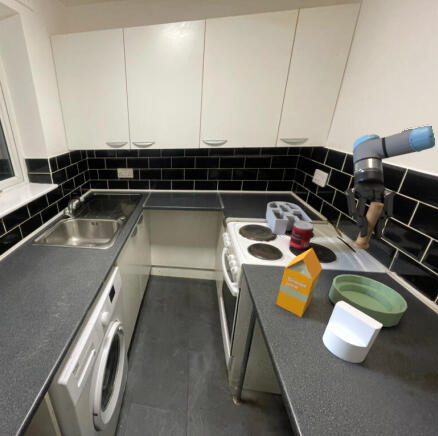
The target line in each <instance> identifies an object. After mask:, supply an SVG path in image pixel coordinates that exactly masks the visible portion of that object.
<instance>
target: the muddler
mask: <svg viewBox="0 0 438 436" xmlns="http://www.w3.org/2000/svg"><path fill="white" fill-rule="evenodd" d="M382 208H383V209H384V203H382V202H381V203H378V202H372V203H371V202H370V204H369V207H368V210H367V212H366V214H365V217H367V232H368V235H367V236H365V237H364V238H362V237H360V232H359V234H358V235H357V238H356V240H354V241H353V243H352V245H353V247H355V248H357V249H360V250H368V249H369V247H370V244H369V242H370V241H371V237H372V235H373V233H374V227H375V225H376V223H377V220H378V218H379V215H380V213H381V211H382Z"/></svg>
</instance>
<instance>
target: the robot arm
mask: <svg viewBox="0 0 438 436" xmlns="http://www.w3.org/2000/svg"><path fill="white" fill-rule="evenodd" d="M423 126H424V125H423ZM417 127H418V128H415V129H408V128H407V129H408V130H405V129H403V130H404V131H403V130H401V131H402V132H401V131H400V132H401V133H400V132H398V133H395V134H390V135H388V136H383V137H381V136H379V135H378V134H375V133H374V134H373V133H372V134H364V135H362V136H360V137H358V138H357V139H355V141H354V142H353V146H352V147H353V149H352V157H353V159H352V161H353V187H352V188H350V187H348V188H347V189H346V190H344V192H343V193H344V195H345V197H346V201H347V209H348V215H349V217H353V218H354V219H355V220H356V226H357V228H359V233H360V237H362V238H364V237H365V236H367V235H368V232H367V217H366V216H365V210H366V205H367V200H370V204H371V203H372V202H378V203H382V200H381V199H382V197H381V195H383V198H384V199H383V204H384V206H383V208H382V211H381V213H380V215H379V218H378V220H377V223H376V225H375V227H374V230H373V236H374V237H373V239H374V240H379V239H382V238H383V229H385V228H386V221H387V220H389V219H391V218H392V217H393V213H394V212H393V210H394V197H395V195H396V194H397V193H396V191H395V190H392V191H390V190H387V189H386V187H385V186H384V170H383V169H384V168H383V160H385V159H389V158H394V157H398V156H403V155H408V154H413V153H420V152H422V151H426V150H429V149H433V148H434V147H435V146H436V145H435V138H434V133H433V129H432V126H424V127H419V126H417ZM355 195H357V197H358V198H357V199H358V200H357V202H358V203H356V196H355Z"/></svg>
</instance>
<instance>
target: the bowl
mask: <svg viewBox="0 0 438 436" xmlns="http://www.w3.org/2000/svg"><path fill="white" fill-rule="evenodd" d="M328 297H329V299H330V301H331V302H332V304H333V305H334V306H335V305H336V303H337V302H339V301H344V302H346V303H347V304H349V305H351V306H352V307H354V308H356V309H357V310H359V311H361V312H363V313H364V314H366V315H368V316H369V317H371V318H373V319H374V320H376V321H378V322H379V323H381V324H383V326H382V327H385V328H386V327H387V328H390V327H394V326H397V325H398V324H399V322H400V321H401V320H402V318H403V316H404V315H405V312H406V311H407V309H408V304H407V301H406V299H404V297H403V296H402V294H400V293H398V291H396V290H395V289H393V288H391V287H390V286H388V285H386V284H384V283H383V282H380V281H377V280H375V279H373V278H369V277H367V276H362V275H357V274H339V275H336V276H335V277H334V278H333V279H332V282H331V284H330V288H329V290H328Z"/></svg>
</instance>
